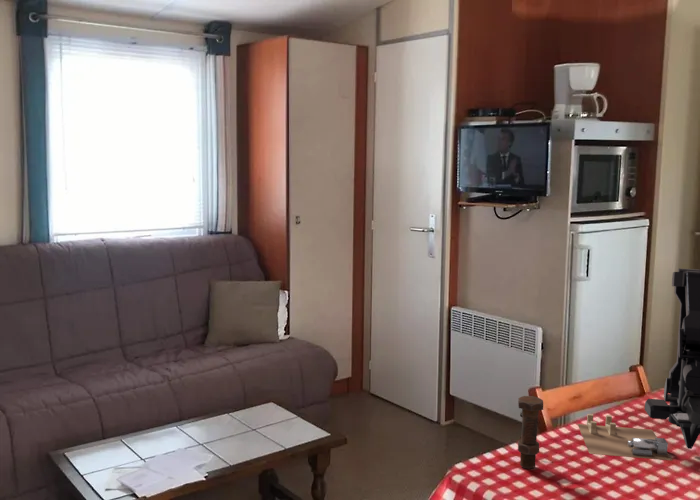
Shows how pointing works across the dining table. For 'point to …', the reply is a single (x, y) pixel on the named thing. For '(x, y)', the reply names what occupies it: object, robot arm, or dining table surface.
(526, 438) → the bolt
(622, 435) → the board
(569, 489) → the dining table surface
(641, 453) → the socket
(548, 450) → the dining table surface
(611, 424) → the rack
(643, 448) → the grey piece
